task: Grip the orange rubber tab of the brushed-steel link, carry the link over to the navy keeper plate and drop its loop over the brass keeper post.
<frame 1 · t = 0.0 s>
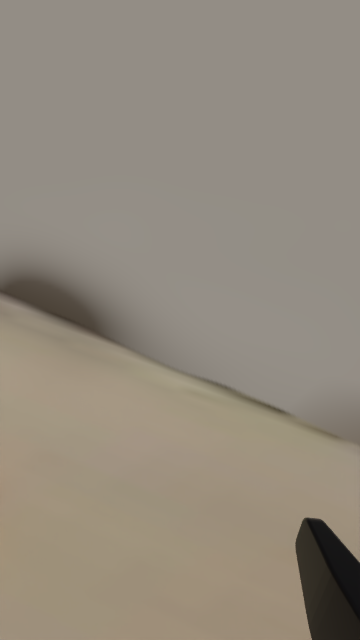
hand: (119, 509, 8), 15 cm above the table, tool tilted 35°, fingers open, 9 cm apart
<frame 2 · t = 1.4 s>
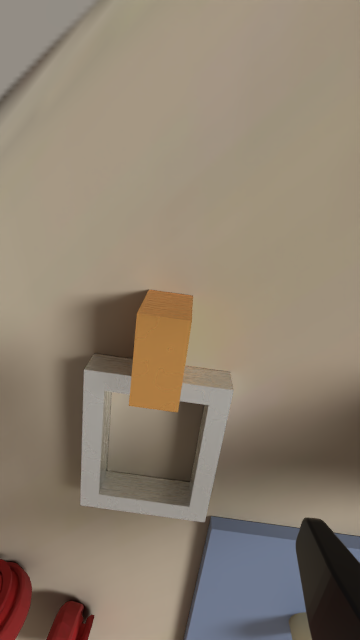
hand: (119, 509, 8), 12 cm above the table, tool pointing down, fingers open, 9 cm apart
headphones: (3, 614, 31), on the table
steel link: (153, 431, 22), on the table
keeper: (300, 607, 28), on the table
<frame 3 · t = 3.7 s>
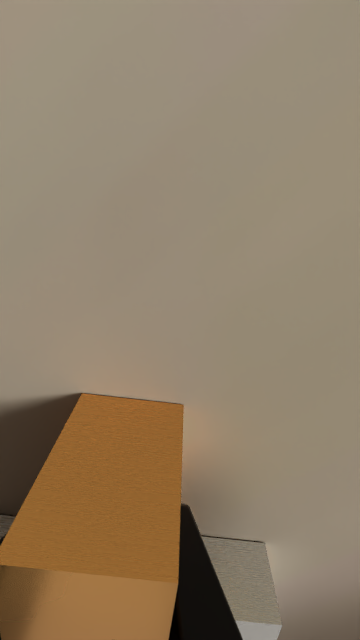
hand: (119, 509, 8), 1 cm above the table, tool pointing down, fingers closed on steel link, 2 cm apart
steel link: (115, 632, 12), on the table, touching gripper
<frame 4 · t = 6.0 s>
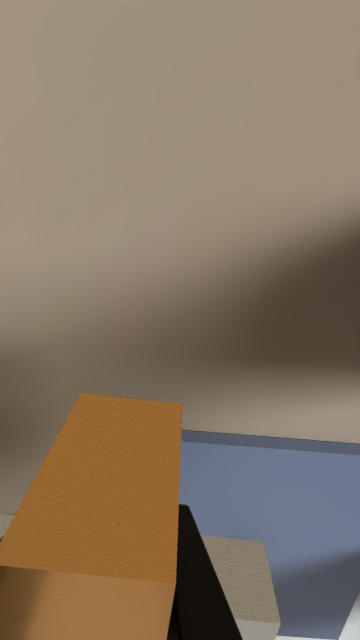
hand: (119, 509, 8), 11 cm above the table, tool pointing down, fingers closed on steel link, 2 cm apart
steel link: (115, 629, 12), point 10 cm above the table, touching gripper
keeper: (238, 538, 24), on the table
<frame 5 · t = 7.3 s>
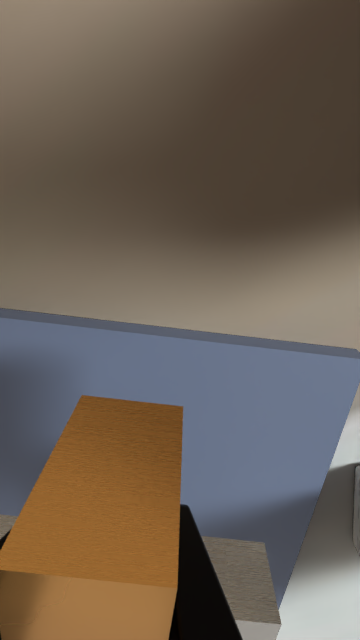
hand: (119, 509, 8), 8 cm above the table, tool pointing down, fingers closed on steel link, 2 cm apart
steel link: (116, 629, 12), point 7 cm above the table, touching gripper
keeper: (140, 480, 18), on the table
when the fingers open (7 cm above the table, at t = 8.2 s): steel link drops 5 cm, resting on keeper.
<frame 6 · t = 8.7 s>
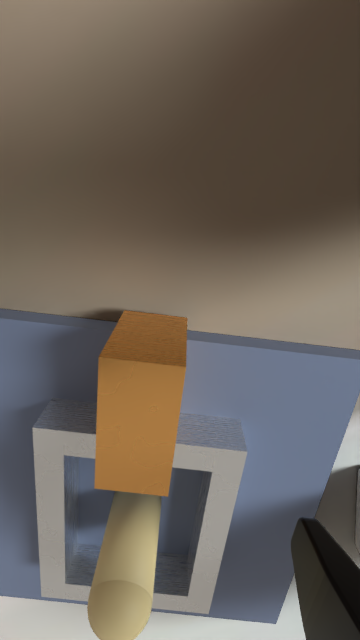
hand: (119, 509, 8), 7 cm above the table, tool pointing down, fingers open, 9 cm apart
steel link: (138, 494, 17), point 1 cm above the table, touching keeper
keeper: (140, 482, 18), on the table
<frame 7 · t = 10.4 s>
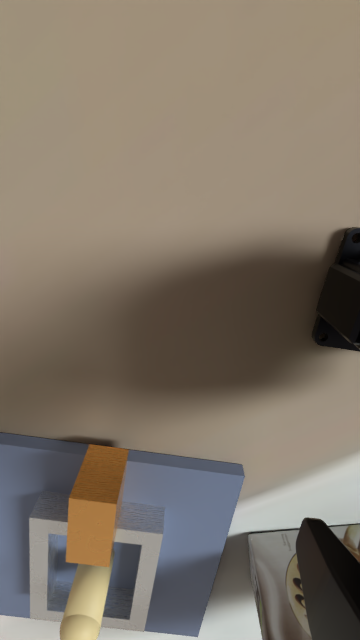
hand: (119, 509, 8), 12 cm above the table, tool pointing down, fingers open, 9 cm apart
steel link: (98, 550, 25), point 1 cm above the table, touching keeper
coffee box: (307, 552, 26), on the table
keeper: (101, 539, 26), on the table
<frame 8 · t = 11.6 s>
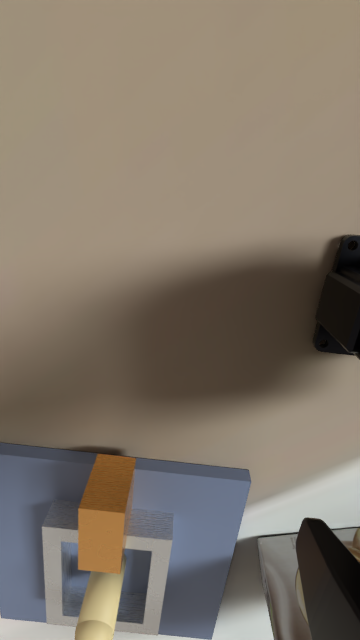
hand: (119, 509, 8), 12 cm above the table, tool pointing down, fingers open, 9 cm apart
steel link: (111, 556, 25), point 1 cm above the table, touching keeper
coffee box: (317, 555, 26), on the table
keeper: (113, 545, 26), on the table
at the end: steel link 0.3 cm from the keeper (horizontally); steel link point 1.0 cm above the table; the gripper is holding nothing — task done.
